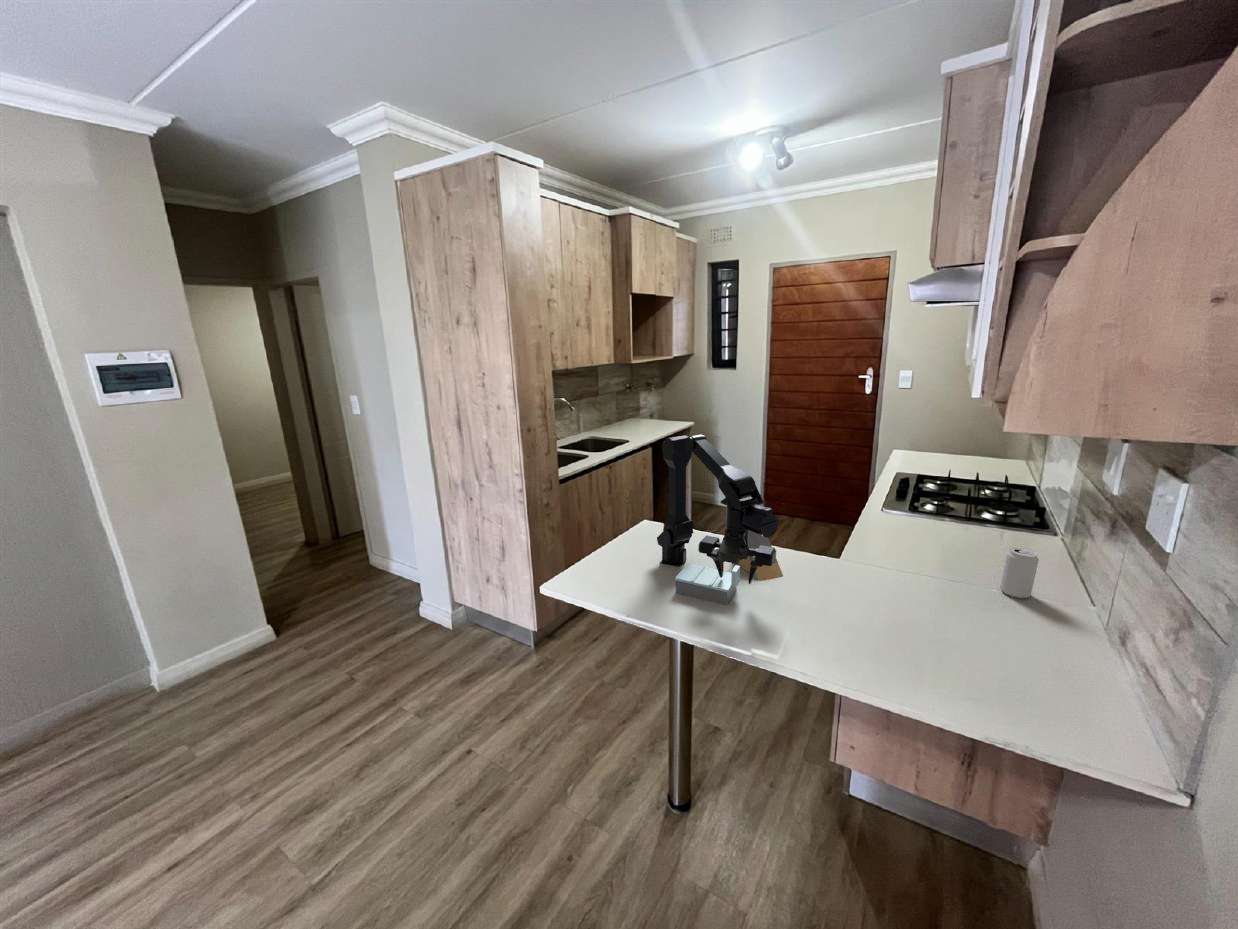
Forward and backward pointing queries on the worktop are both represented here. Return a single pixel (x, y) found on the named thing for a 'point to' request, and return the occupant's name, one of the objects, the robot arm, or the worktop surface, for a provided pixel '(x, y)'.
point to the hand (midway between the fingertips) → (735, 580)
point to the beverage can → (1019, 572)
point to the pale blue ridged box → (709, 577)
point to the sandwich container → (763, 571)
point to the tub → (704, 592)
